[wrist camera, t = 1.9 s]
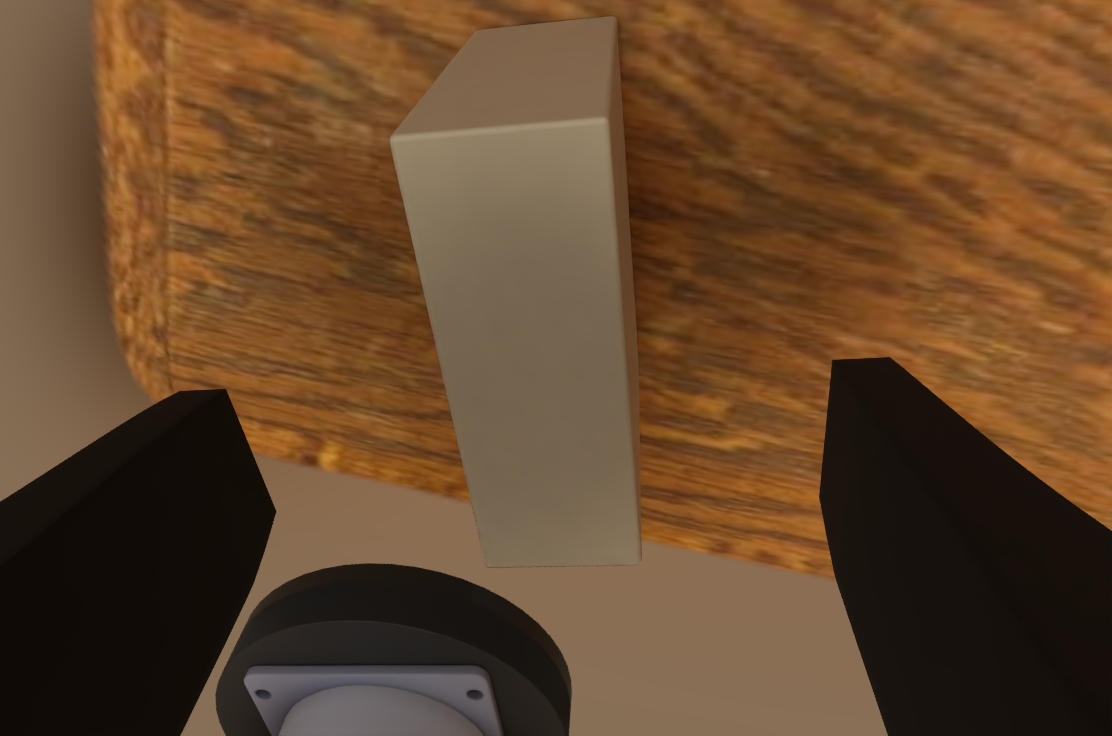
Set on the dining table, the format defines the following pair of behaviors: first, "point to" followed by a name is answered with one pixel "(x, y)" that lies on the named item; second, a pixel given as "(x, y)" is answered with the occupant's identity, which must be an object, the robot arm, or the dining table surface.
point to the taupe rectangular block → (532, 287)
